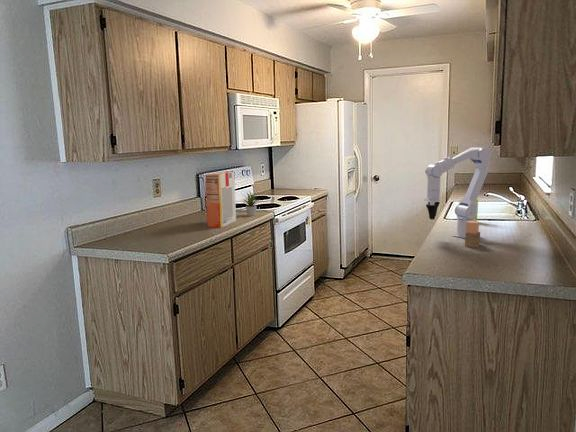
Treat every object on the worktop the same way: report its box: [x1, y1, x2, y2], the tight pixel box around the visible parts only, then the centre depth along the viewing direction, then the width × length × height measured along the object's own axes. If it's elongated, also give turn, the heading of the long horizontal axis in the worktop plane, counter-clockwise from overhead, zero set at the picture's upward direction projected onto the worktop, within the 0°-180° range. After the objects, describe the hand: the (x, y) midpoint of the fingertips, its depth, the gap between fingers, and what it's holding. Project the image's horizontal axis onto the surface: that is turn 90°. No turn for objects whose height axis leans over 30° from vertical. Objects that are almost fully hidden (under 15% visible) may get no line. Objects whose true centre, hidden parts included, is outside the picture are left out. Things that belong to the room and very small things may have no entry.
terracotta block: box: [466, 220, 480, 234], centre depth 219 cm, size 4×4×5 cm
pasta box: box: [204, 170, 237, 229], centre depth 282 cm, size 23×8×30 cm, turn 164°
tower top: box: [464, 231, 481, 242], centre depth 219 cm, size 6×6×3 cm
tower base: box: [464, 239, 480, 248], centre depth 219 cm, size 6×6×3 cm
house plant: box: [242, 191, 263, 217], centre depth 310 cm, size 14×14×16 cm
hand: (432, 218), depth 232 cm, fingers open, 7 cm apart
